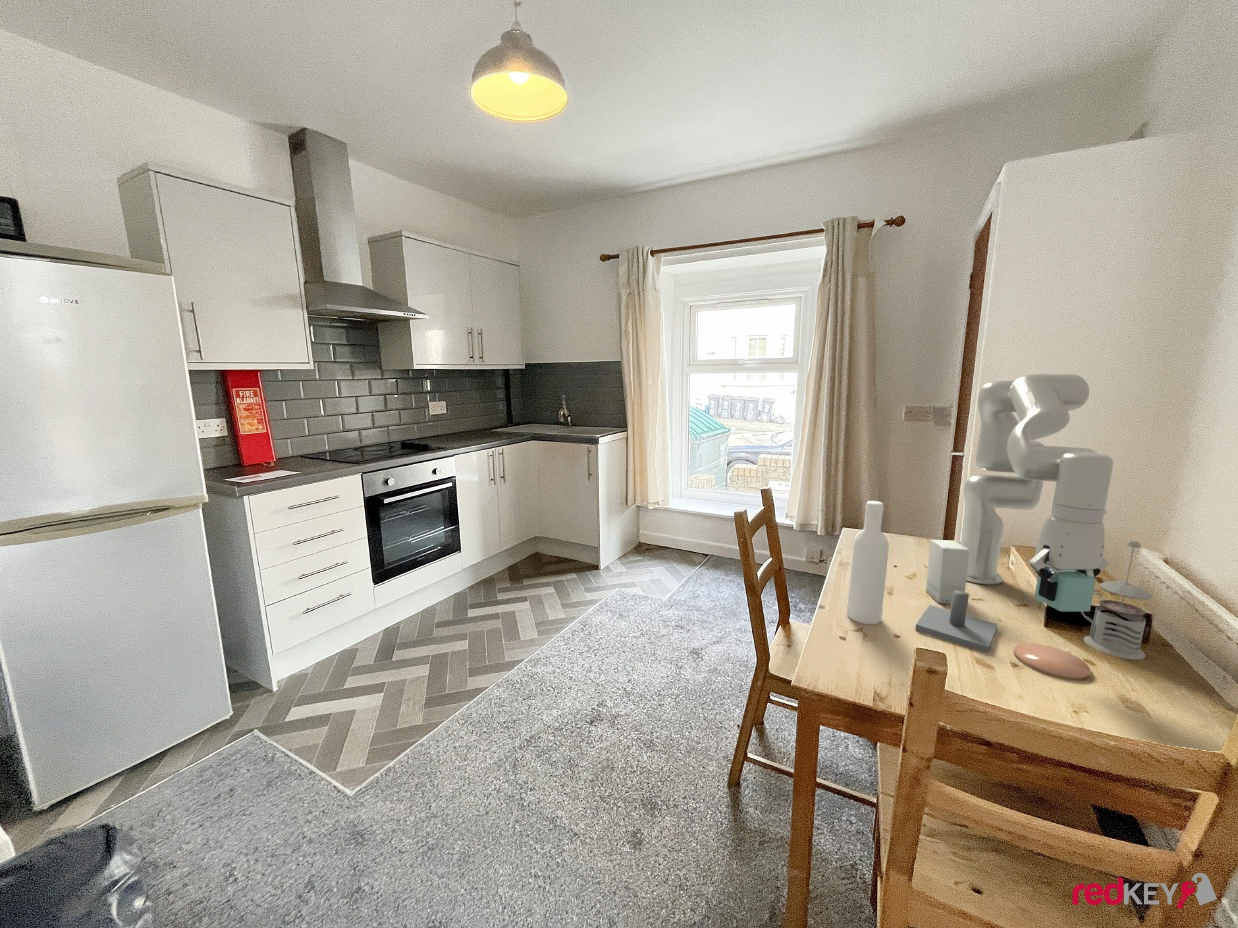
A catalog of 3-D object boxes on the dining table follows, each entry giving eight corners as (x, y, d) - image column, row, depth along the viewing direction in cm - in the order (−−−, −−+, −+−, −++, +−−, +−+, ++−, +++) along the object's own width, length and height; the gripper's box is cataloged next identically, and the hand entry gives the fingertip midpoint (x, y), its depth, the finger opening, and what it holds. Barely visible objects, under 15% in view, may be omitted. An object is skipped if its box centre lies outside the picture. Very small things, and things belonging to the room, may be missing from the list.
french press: (1153, 664, 100) (1178, 552, 96) (1079, 648, 106) (1099, 542, 102) (1136, 643, 109) (1158, 538, 104) (1068, 629, 115) (1086, 530, 110)
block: (1062, 597, 101) (1067, 566, 100) (1089, 611, 96) (1095, 578, 94) (1034, 597, 101) (1039, 566, 100) (1060, 611, 96) (1066, 578, 94)
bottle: (880, 613, 122) (892, 500, 117) (882, 627, 115) (895, 508, 110) (845, 607, 125) (856, 497, 120) (846, 620, 118) (857, 504, 113)
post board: (929, 610, 124) (933, 575, 122) (996, 629, 114) (1002, 592, 113) (915, 630, 114) (919, 593, 112) (987, 653, 104) (994, 613, 103)
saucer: (1016, 640, 109) (1017, 636, 109) (1089, 662, 101) (1090, 658, 101) (1010, 662, 101) (1011, 658, 101) (1089, 688, 93) (1090, 683, 93)
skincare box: (963, 605, 126) (971, 550, 124) (936, 603, 128) (943, 548, 125) (949, 592, 134) (956, 539, 132) (923, 590, 136) (929, 538, 133)
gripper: (1100, 509, 99) (1085, 590, 102) (1018, 508, 99) (1006, 590, 102) (1139, 519, 92) (1122, 606, 95) (1051, 519, 91) (1036, 606, 94)
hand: (1062, 597), depth 98 cm, fingers closed on block, 5 cm apart
